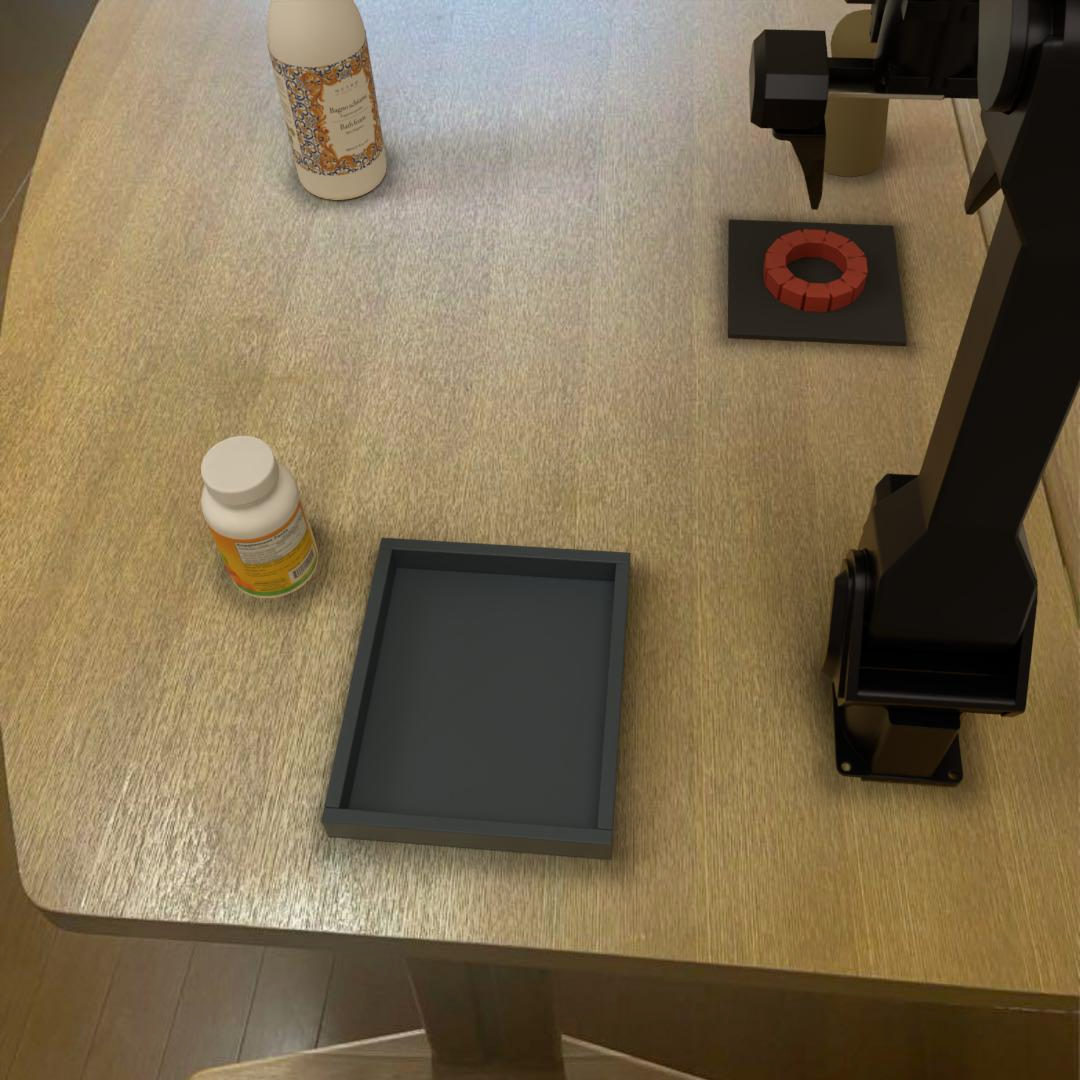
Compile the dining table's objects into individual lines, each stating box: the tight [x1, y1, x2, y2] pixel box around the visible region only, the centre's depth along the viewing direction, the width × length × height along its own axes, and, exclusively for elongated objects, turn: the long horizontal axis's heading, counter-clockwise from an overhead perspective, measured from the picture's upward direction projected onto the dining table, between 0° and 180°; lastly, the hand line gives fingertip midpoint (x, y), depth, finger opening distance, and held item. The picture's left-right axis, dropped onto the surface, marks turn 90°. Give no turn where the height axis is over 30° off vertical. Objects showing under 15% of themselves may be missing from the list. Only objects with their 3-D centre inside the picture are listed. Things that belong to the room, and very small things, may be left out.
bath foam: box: [265, 0, 387, 201], centre depth 85 cm, size 7×7×20 cm
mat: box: [727, 218, 908, 347], centre depth 85 cm, size 12×12×1 cm
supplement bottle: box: [200, 435, 319, 599], centre depth 68 cm, size 5×5×10 cm
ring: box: [764, 229, 868, 312], centre depth 84 cm, size 7×7×1 cm
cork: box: [824, 8, 890, 177], centre depth 89 cm, size 6×6×11 cm
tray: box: [320, 537, 631, 861], centre depth 65 cm, size 18×15×2 cm
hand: (890, 207), depth 72 cm, fingers open, 9 cm apart
